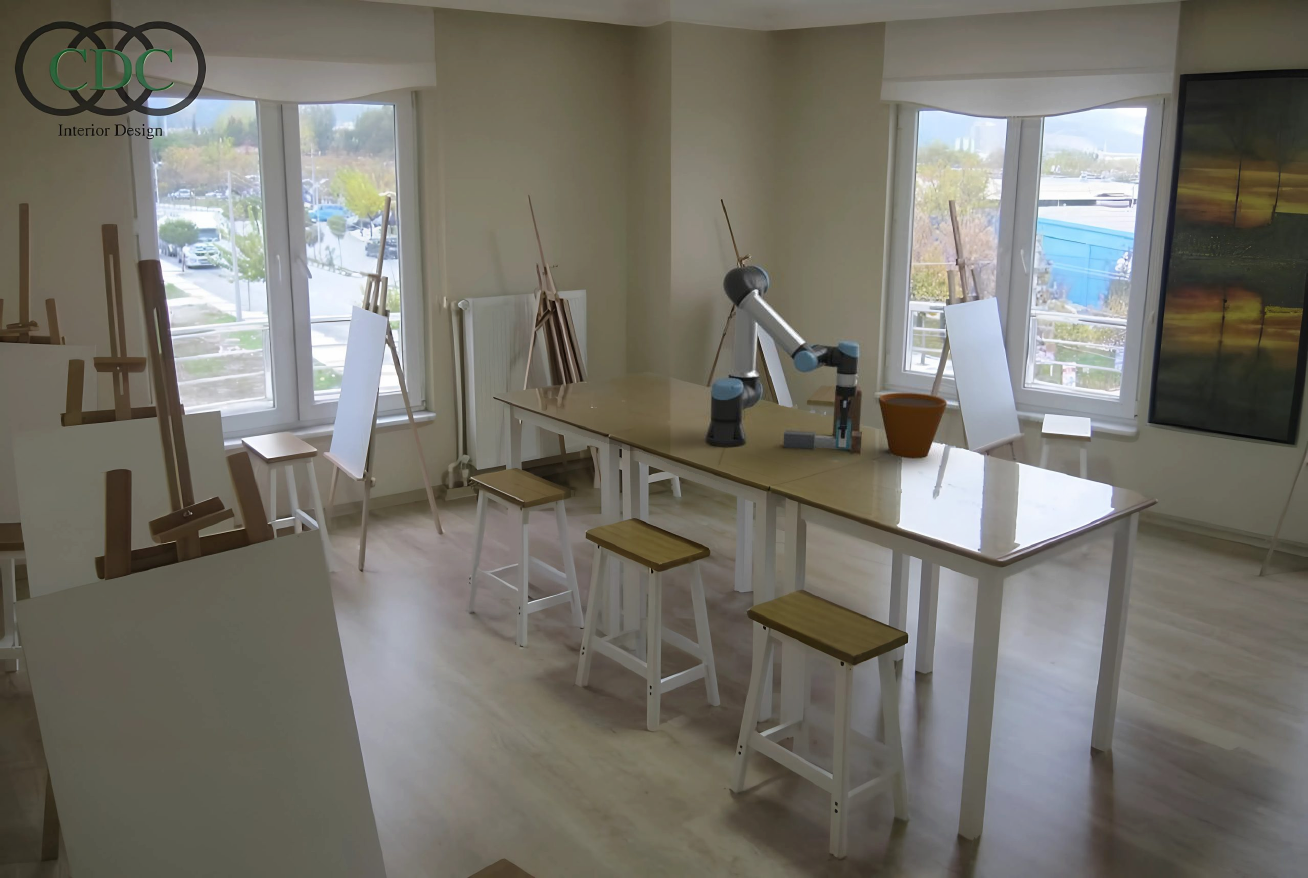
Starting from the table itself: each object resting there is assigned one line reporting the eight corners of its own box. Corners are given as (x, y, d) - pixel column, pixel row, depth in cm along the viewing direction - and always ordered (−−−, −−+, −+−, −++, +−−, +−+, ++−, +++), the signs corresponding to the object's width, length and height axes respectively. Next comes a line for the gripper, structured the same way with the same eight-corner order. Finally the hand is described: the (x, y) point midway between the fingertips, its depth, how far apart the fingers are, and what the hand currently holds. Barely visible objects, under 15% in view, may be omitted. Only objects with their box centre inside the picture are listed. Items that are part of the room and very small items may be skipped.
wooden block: (858, 442, 397) (862, 390, 392) (832, 440, 399) (835, 388, 394) (859, 435, 407) (862, 385, 402) (833, 434, 409) (836, 384, 404)
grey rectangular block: (783, 447, 387) (784, 433, 385) (784, 444, 392) (785, 430, 391) (813, 449, 384) (814, 435, 383) (814, 446, 390) (815, 431, 388)
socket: (850, 453, 381) (851, 435, 379) (851, 447, 388) (852, 430, 387) (860, 454, 380) (861, 436, 378) (860, 448, 387) (862, 431, 386)
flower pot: (953, 460, 373) (958, 405, 368) (889, 462, 369) (893, 407, 364) (925, 444, 396) (930, 392, 391) (865, 445, 392) (869, 393, 387)
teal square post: (806, 446, 385) (807, 418, 383) (807, 443, 390) (808, 416, 387) (858, 450, 381) (860, 422, 379) (859, 447, 386) (861, 419, 383)
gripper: (856, 391, 367) (852, 451, 372) (857, 379, 390) (854, 435, 395) (834, 390, 368) (830, 449, 374) (837, 378, 391) (834, 434, 396)
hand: (842, 442), depth 384 cm, fingers open, 12 cm apart
